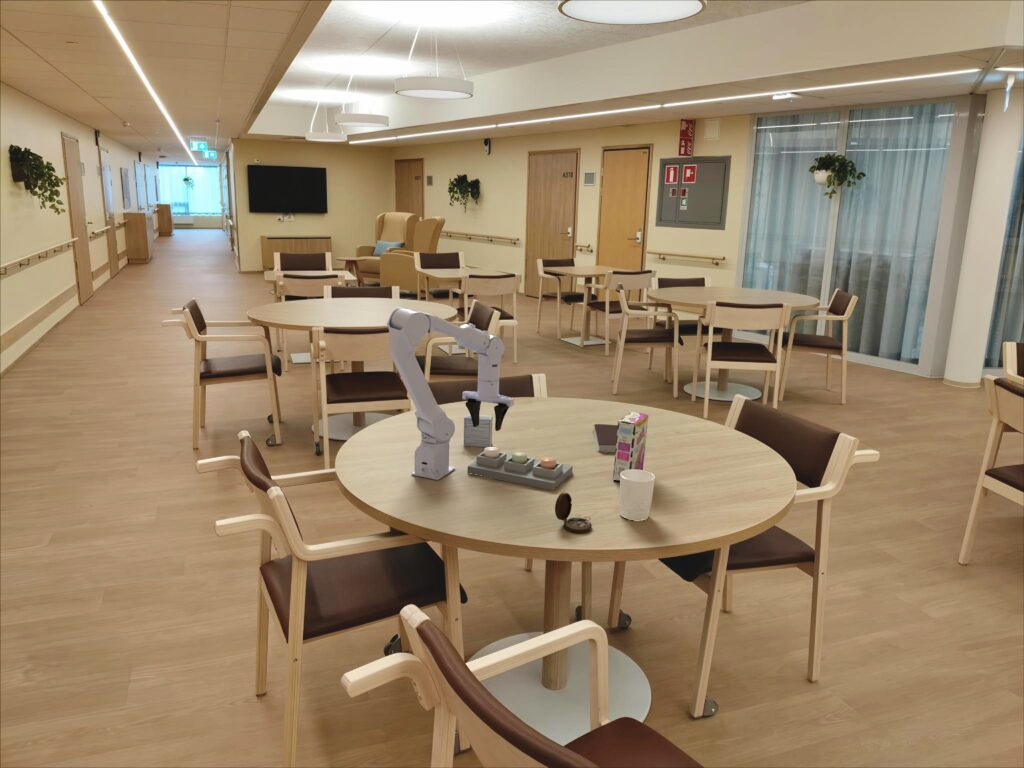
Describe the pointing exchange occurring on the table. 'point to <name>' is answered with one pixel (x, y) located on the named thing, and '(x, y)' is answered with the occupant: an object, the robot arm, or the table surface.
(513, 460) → the sage green button
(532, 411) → the table surface
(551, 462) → the terracotta button
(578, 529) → the compass
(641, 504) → the white cup
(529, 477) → the button board
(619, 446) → the candy bar box
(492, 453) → the off-white button
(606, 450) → the book
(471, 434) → the medicine box
